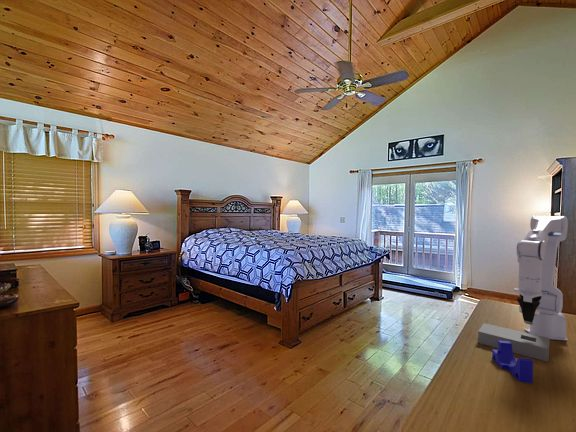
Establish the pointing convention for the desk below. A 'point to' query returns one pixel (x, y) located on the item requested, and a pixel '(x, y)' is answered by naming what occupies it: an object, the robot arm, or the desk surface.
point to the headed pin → (535, 315)
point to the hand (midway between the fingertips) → (528, 318)
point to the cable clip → (513, 362)
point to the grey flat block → (515, 341)
